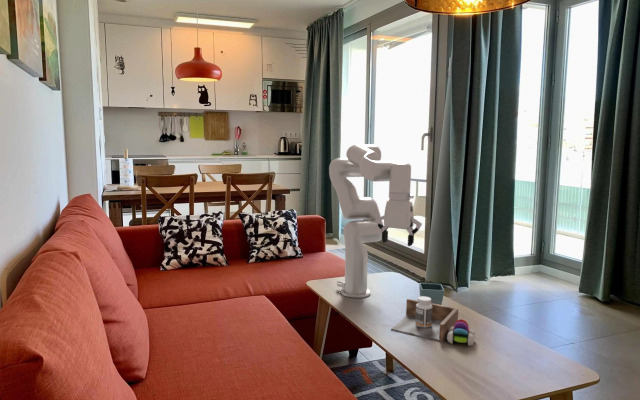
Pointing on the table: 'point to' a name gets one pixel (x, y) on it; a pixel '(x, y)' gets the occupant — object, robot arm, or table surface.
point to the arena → (440, 321)
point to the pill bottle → (423, 312)
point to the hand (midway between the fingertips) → (397, 243)
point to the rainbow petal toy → (461, 333)
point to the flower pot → (432, 292)
